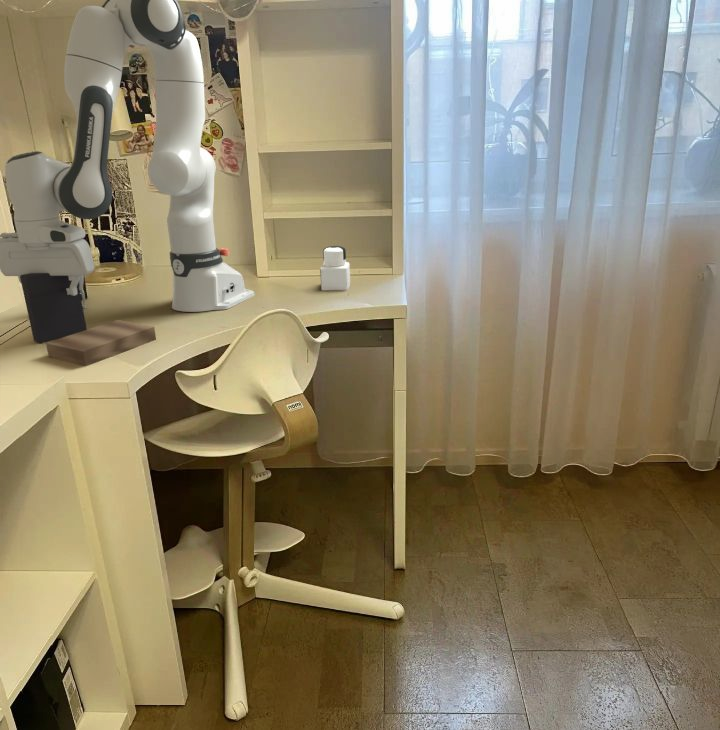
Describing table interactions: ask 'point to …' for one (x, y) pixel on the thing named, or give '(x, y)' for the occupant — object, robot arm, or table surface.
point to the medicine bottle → (335, 269)
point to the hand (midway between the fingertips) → (52, 295)
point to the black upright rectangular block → (52, 307)
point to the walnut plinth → (100, 342)
